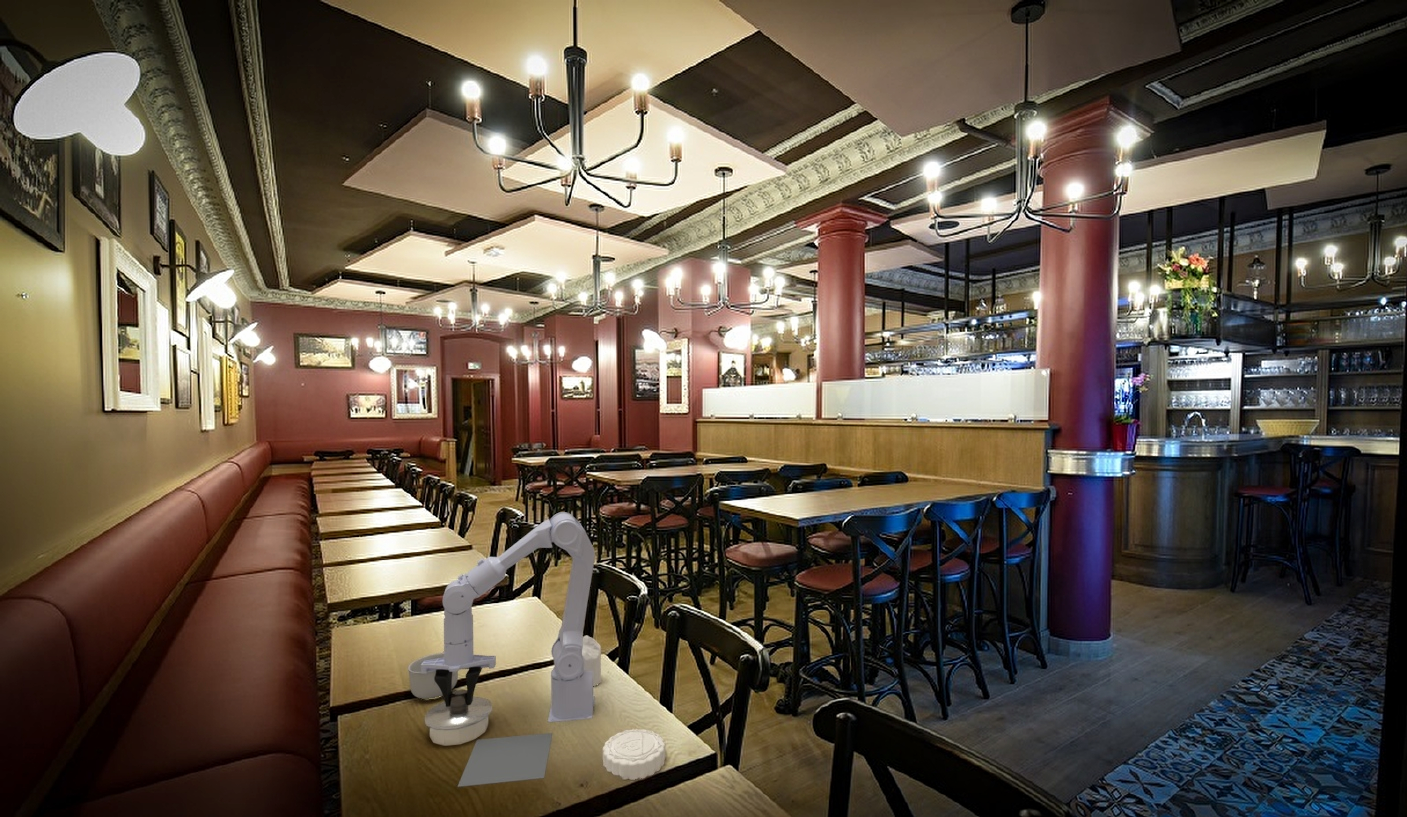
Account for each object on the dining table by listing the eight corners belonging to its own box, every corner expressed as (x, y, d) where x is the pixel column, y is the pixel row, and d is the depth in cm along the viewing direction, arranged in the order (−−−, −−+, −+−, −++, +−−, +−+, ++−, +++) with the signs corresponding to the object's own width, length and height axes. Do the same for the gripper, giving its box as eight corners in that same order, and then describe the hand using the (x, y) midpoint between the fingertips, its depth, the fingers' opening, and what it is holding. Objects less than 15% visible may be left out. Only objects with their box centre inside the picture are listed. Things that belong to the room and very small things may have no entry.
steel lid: (495, 697, 130) (495, 677, 131) (488, 725, 118) (488, 703, 118) (432, 704, 127) (432, 684, 127) (418, 734, 115) (418, 711, 115)
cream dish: (492, 716, 129) (492, 700, 129) (481, 744, 118) (480, 727, 118) (439, 720, 127) (439, 704, 127) (423, 749, 117) (423, 732, 117)
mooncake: (605, 745, 118) (605, 727, 118) (664, 742, 119) (664, 724, 119) (599, 783, 106) (599, 763, 106) (666, 779, 107) (665, 759, 107)
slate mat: (552, 735, 121) (552, 733, 121) (543, 780, 107) (543, 778, 107) (477, 742, 119) (477, 739, 119) (457, 789, 104) (457, 786, 104)
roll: (602, 630, 147) (598, 638, 142) (603, 677, 147) (599, 688, 142) (578, 630, 147) (574, 639, 142) (579, 677, 147) (574, 688, 142)
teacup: (439, 707, 133) (438, 672, 133) (397, 703, 135) (397, 668, 135) (474, 679, 147) (474, 648, 147) (436, 676, 149) (436, 644, 149)
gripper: (415, 649, 118) (416, 716, 118) (490, 644, 120) (491, 710, 120) (426, 636, 125) (427, 699, 125) (497, 631, 127) (498, 693, 127)
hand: (459, 703), depth 123 cm, fingers closed on steel lid, 4 cm apart
